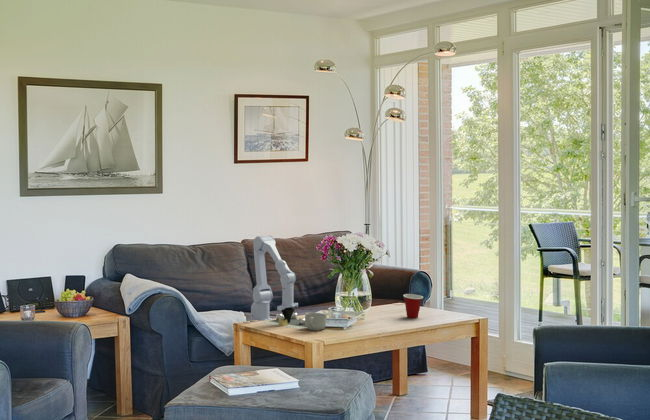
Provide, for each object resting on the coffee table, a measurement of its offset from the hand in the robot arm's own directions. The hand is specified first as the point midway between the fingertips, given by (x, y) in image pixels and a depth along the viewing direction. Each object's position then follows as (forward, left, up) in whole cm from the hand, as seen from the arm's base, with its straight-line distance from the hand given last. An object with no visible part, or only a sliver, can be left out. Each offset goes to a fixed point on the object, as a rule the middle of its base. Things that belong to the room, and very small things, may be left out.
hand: (287, 322), depth 435 cm
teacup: (+19, -3, -1) cm, 19 cm away
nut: (0, -4, -1) cm, 4 cm away
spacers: (0, +8, -1) cm, 9 cm away
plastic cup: (+38, +60, -1) cm, 71 cm away
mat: (0, +3, -1) cm, 4 cm away
